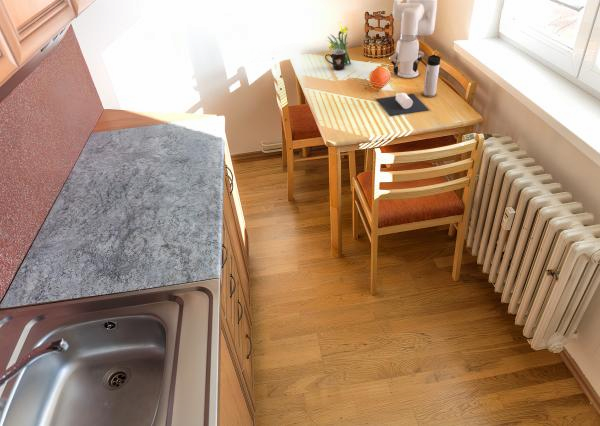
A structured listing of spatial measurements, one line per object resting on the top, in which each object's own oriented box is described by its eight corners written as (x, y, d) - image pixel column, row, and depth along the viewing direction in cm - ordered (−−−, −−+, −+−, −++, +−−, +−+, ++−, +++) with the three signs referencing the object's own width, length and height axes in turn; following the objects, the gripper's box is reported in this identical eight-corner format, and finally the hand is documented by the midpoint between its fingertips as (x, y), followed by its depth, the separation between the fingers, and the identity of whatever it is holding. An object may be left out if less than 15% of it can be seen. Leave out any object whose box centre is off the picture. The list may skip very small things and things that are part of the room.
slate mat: (376, 99, 235) (376, 98, 235) (412, 94, 238) (412, 93, 238) (390, 115, 220) (390, 115, 220) (428, 110, 222) (428, 109, 222)
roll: (402, 98, 234) (403, 88, 230) (412, 107, 224) (413, 97, 221) (392, 100, 233) (392, 89, 229) (401, 109, 224) (402, 99, 220)
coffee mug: (348, 66, 274) (348, 50, 267) (341, 71, 268) (341, 55, 262) (331, 64, 279) (331, 48, 273) (324, 69, 273) (324, 52, 267)
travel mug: (434, 91, 239) (439, 54, 226) (436, 97, 234) (441, 59, 221) (422, 92, 239) (427, 54, 227) (424, 97, 234) (428, 59, 222)
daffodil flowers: (327, 68, 276) (320, 36, 296) (346, 77, 283) (338, 45, 303) (343, 46, 265) (334, 14, 285) (362, 56, 272) (352, 24, 292)
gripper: (422, 32, 213) (418, 67, 224) (387, 36, 211) (385, 71, 222) (429, 37, 207) (424, 72, 218) (393, 41, 205) (391, 77, 216)
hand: (405, 72), depth 220 cm, fingers open, 9 cm apart
